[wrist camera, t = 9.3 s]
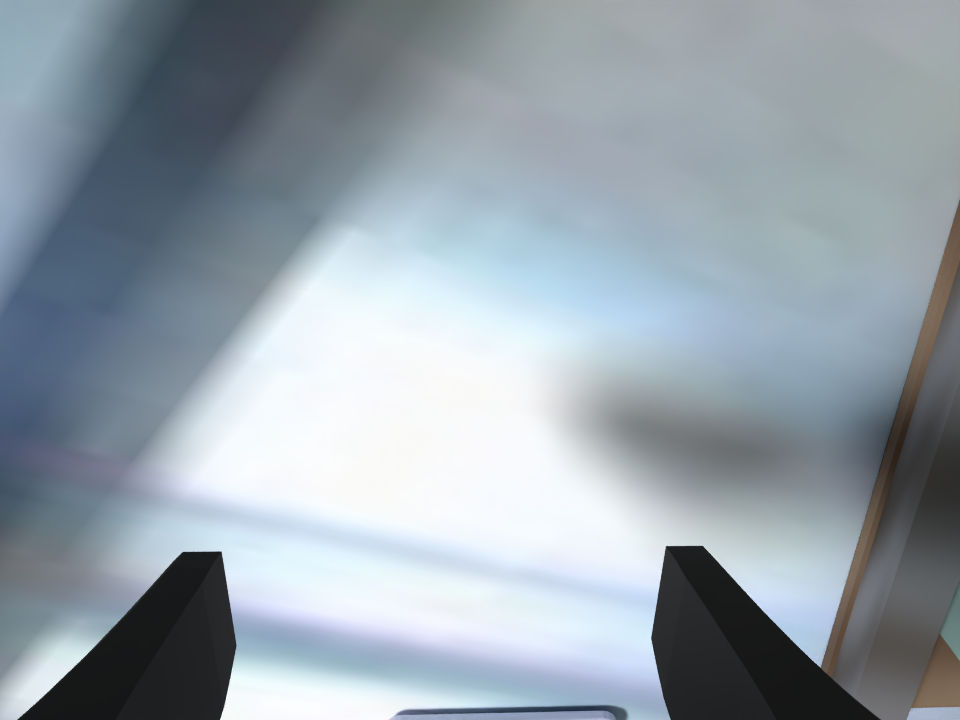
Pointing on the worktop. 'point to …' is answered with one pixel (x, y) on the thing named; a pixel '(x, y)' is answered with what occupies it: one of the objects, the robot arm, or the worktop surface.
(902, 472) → the track
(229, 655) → the robot arm
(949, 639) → the green block
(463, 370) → the worktop surface
